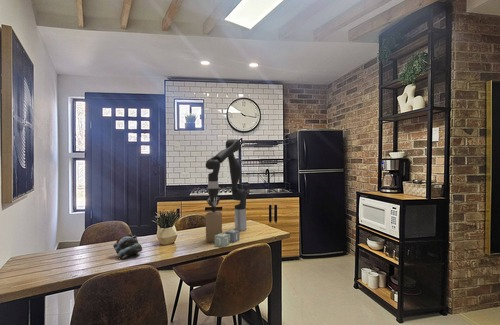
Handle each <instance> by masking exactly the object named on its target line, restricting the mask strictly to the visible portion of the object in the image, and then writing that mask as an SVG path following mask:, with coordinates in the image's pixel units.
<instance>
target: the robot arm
mask: <svg viewBox="0 0 500 325" xmlns="http://www.w3.org/2000/svg"><path fill="white" fill-rule="evenodd" d="M241 146H242V144H241V141H240V140H239V139H237V138H236V139H235V138H234V139H233V138H232V139H231V138H230V139H227V140H226V141H225V148H224V149H222V150H221V151H219V152H218V153H216V155H214V156H212V157H210V158H209V159H207V161H206V162H205V168H206V169H207V170H212V172H209V173H208V174H207V175H208V176H207V177H208V178H207V181H208V182H207V194H208V198H207V199H206V202H207V204H208V206H209V207H211V212H217V211H216V209H217V206H218V205H219V203H220V201H221V198H220V197H219V193H220V192H219V191H220V190H219V188H220V186H219V173H220V168H221V164H222V163H223V162H224V161H225V160H226V159H228V165H229V167H228V168H229V174H230V181H231V195H232V196H231V197H232V200H233V201H239V203H238V204H235V205H234V230H237V231H239V232H240V231H241V232H242V231H247V226H248V225H247V214H246V212H247V211H246V210H247V209H246V208H247V207H246V206H247V191H246V190H245V189H239V188H238V184H239V180H240V179H241V176H242V166H241V164H240V162H239V161H238V159H237V158H236V157H235V153H236V152H238V151H239V150H240V149H241Z"/></svg>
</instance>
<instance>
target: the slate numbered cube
mask: <svg viewBox="0 0 500 325" xmlns="http://www.w3.org/2000/svg"><path fill="white" fill-rule="evenodd" d="M225 234H229V243H233V244H235V243H236V242H240V231H237V230H235V229H229V230H227V231H225Z"/></svg>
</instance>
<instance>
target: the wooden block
mask: <svg viewBox="0 0 500 325" xmlns="http://www.w3.org/2000/svg"><path fill="white" fill-rule="evenodd" d="M222 216H223V214H222V212H221V211H215V212H212V211H209V212H207V213H206V214H205V241H206V243H215V235H217V234H220V233H223V217H222Z"/></svg>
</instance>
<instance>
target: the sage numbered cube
mask: <svg viewBox="0 0 500 325" xmlns="http://www.w3.org/2000/svg"><path fill="white" fill-rule="evenodd" d="M214 246H215V247H220V248H224V247H227V246H230V242H229V234H226V233H223V232H222V233H220V234H217V235H215V242H214Z"/></svg>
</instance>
